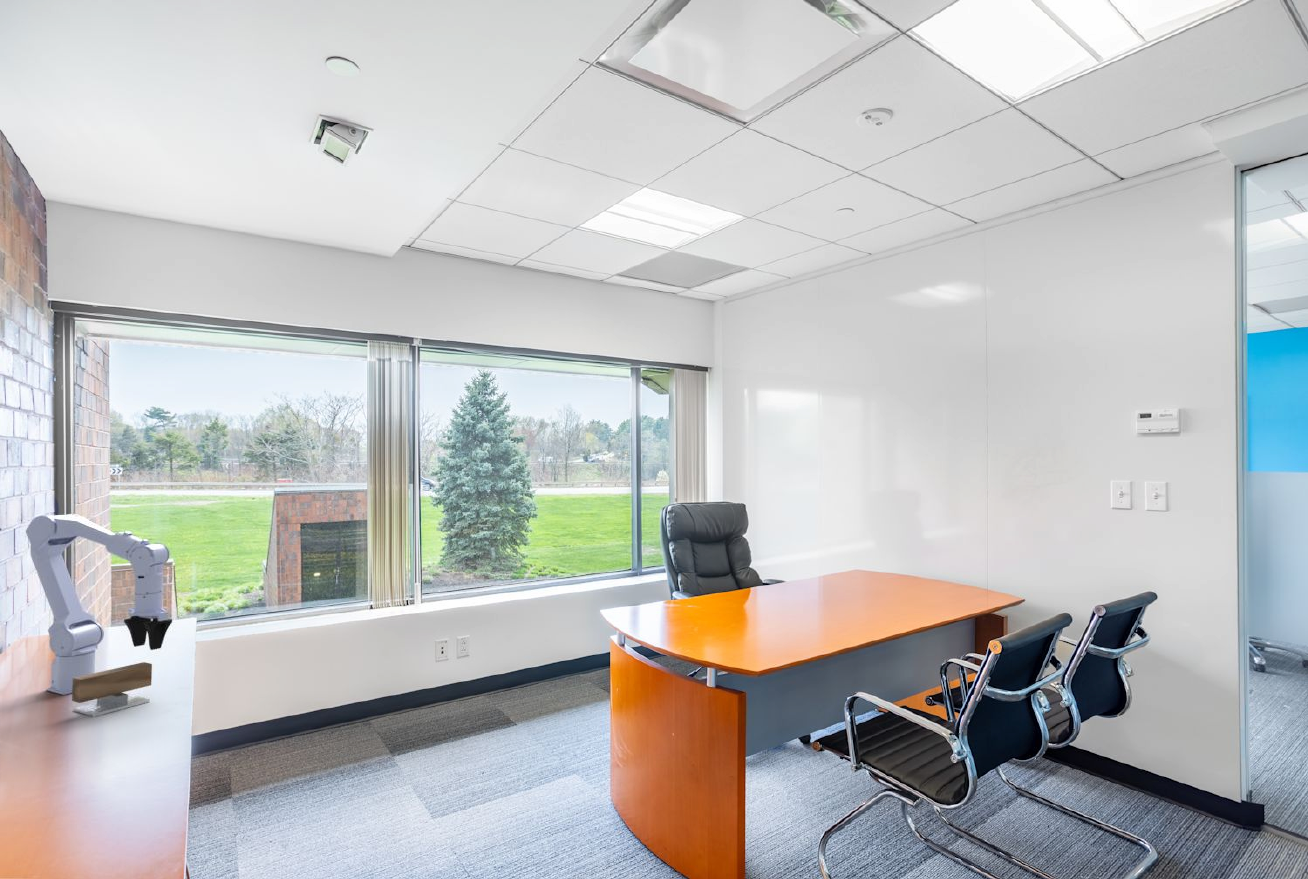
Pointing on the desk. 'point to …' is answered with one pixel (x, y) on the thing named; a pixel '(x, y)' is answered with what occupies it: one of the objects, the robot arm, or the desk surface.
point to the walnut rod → (111, 682)
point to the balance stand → (111, 704)
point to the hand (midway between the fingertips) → (147, 647)
